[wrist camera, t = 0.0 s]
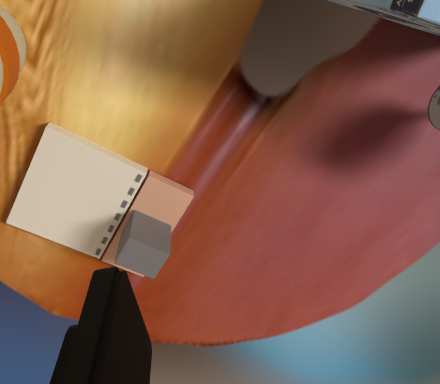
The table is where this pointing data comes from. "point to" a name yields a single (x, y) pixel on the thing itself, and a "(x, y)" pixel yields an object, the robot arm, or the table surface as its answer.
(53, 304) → the table surface
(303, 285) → the table surface
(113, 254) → the stub
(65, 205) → the white notepad
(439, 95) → the wine glass
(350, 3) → the gum box
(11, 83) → the reusable coffee cup
